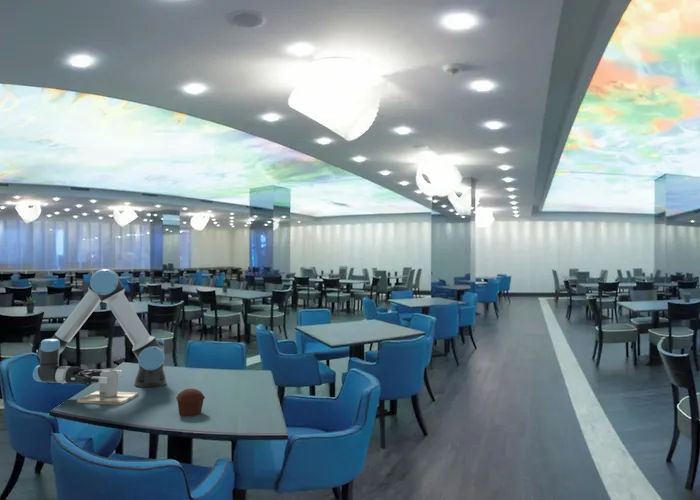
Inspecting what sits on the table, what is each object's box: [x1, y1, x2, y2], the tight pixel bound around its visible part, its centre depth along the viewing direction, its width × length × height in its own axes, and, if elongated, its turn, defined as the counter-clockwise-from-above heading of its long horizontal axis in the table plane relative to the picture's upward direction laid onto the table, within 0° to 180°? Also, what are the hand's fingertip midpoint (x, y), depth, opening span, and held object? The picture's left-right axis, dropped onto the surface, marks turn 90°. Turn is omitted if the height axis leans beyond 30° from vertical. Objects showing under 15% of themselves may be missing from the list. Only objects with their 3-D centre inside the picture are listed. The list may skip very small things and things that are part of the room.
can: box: [98, 368, 119, 398], centre depth 233 cm, size 8×8×12 cm
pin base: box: [76, 390, 139, 406], centre depth 233 cm, size 16×20×4 cm
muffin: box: [175, 388, 205, 418], centre depth 215 cm, size 12×11×10 cm
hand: (114, 376), depth 233 cm, fingers open, 13 cm apart
